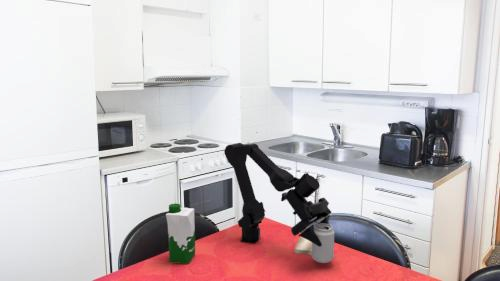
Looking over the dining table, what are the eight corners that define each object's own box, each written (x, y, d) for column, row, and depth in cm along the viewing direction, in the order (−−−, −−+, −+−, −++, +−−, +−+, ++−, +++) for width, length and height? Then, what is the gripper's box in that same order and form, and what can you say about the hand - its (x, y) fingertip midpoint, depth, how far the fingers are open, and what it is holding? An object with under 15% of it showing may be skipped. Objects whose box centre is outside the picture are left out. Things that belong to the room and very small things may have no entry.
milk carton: (175, 252, 149) (173, 201, 146) (198, 254, 148) (196, 202, 144) (166, 263, 141) (163, 209, 137) (190, 265, 139) (188, 210, 136)
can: (335, 264, 135) (336, 230, 133) (313, 264, 135) (313, 230, 133) (331, 254, 142) (332, 222, 140) (310, 253, 142) (311, 222, 140)
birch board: (294, 252, 148) (294, 249, 147) (299, 240, 158) (299, 237, 158) (324, 256, 145) (324, 252, 144) (327, 243, 155) (327, 240, 155)
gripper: (299, 198, 130) (328, 240, 125) (327, 185, 144) (354, 222, 139) (279, 216, 136) (306, 256, 131) (308, 202, 150) (333, 237, 145)
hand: (326, 242), depth 137 cm, fingers closed on can, 7 cm apart
